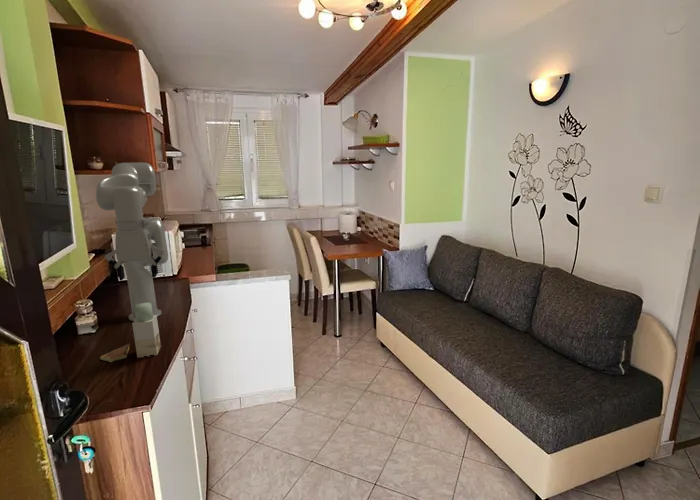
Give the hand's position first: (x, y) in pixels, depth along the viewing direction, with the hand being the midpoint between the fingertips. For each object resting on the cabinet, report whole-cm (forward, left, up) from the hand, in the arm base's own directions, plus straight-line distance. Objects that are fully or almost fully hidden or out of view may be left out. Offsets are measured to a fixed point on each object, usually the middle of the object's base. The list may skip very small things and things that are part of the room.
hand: (138, 277), depth 125 cm
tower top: (0, 0, -20) cm, 20 cm away
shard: (-1, -11, -27) cm, 29 cm away
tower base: (0, 0, -26) cm, 26 cm away
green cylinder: (0, 0, -14) cm, 14 cm away
